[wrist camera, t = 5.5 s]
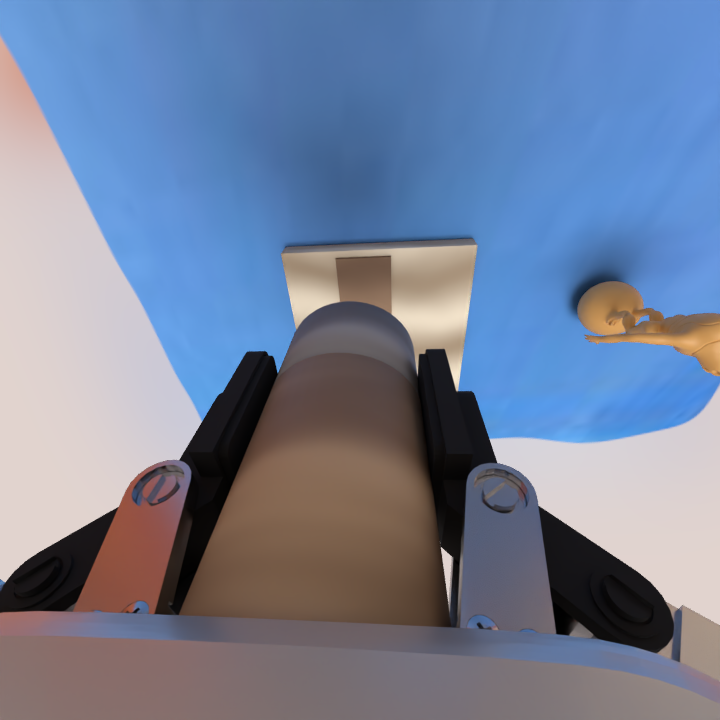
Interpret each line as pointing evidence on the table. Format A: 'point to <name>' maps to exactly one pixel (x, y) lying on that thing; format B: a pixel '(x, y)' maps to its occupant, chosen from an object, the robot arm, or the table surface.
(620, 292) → the figurine
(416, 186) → the table surface
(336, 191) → the table surface
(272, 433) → the brown cylinder
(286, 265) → the floor board
